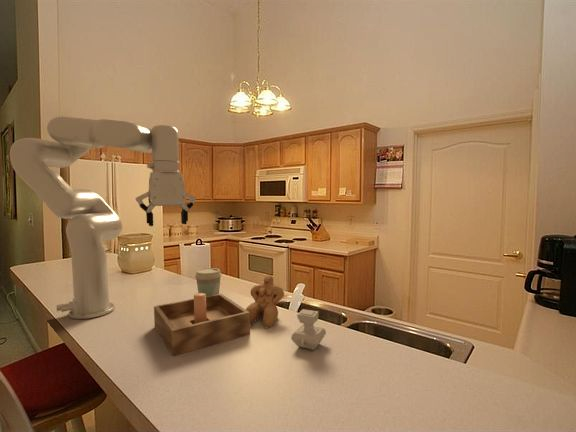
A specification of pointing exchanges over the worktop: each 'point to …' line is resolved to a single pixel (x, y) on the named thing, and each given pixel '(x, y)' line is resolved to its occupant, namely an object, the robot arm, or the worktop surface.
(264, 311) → the figurine
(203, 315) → the peg
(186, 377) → the worktop surface
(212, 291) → the coffee cup
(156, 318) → the bore box
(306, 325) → the stamp
